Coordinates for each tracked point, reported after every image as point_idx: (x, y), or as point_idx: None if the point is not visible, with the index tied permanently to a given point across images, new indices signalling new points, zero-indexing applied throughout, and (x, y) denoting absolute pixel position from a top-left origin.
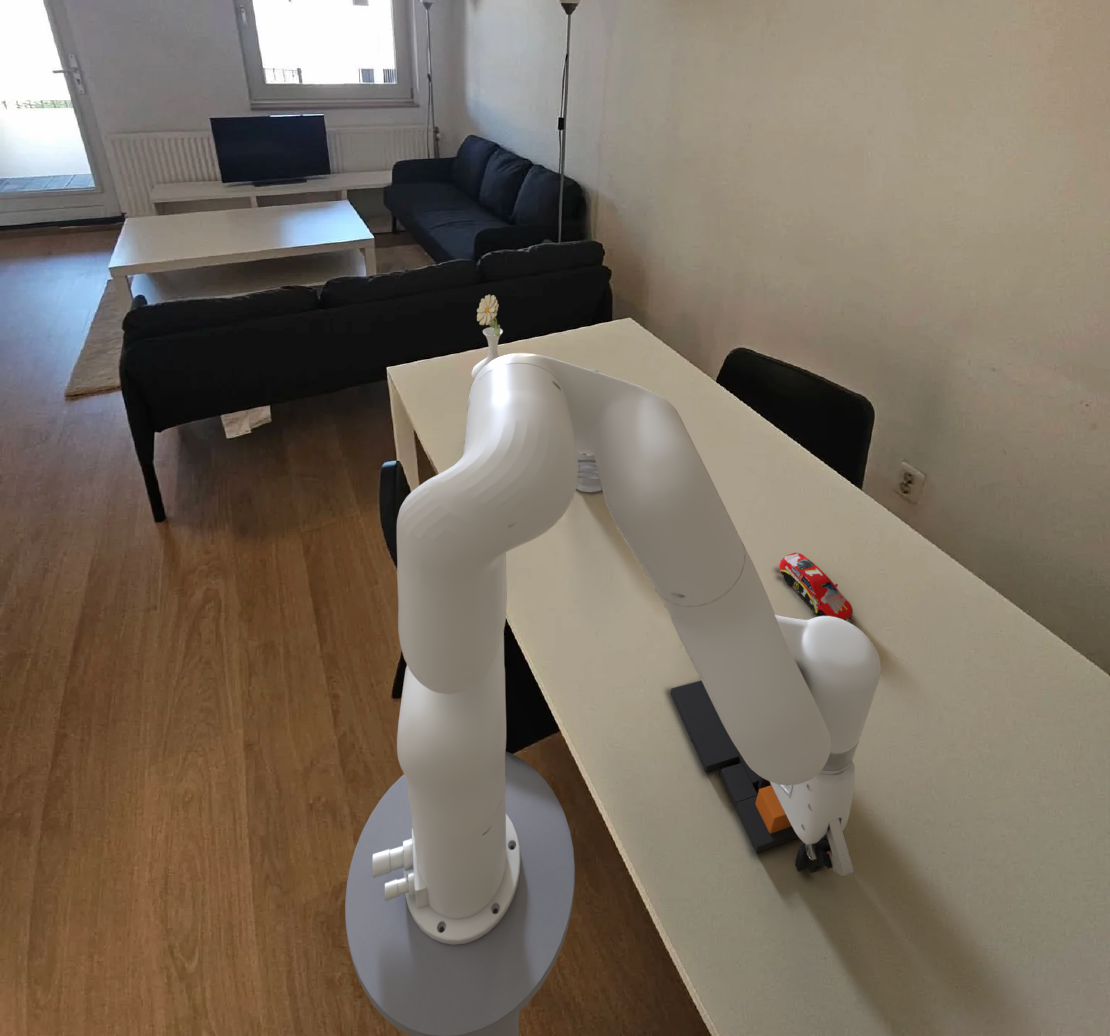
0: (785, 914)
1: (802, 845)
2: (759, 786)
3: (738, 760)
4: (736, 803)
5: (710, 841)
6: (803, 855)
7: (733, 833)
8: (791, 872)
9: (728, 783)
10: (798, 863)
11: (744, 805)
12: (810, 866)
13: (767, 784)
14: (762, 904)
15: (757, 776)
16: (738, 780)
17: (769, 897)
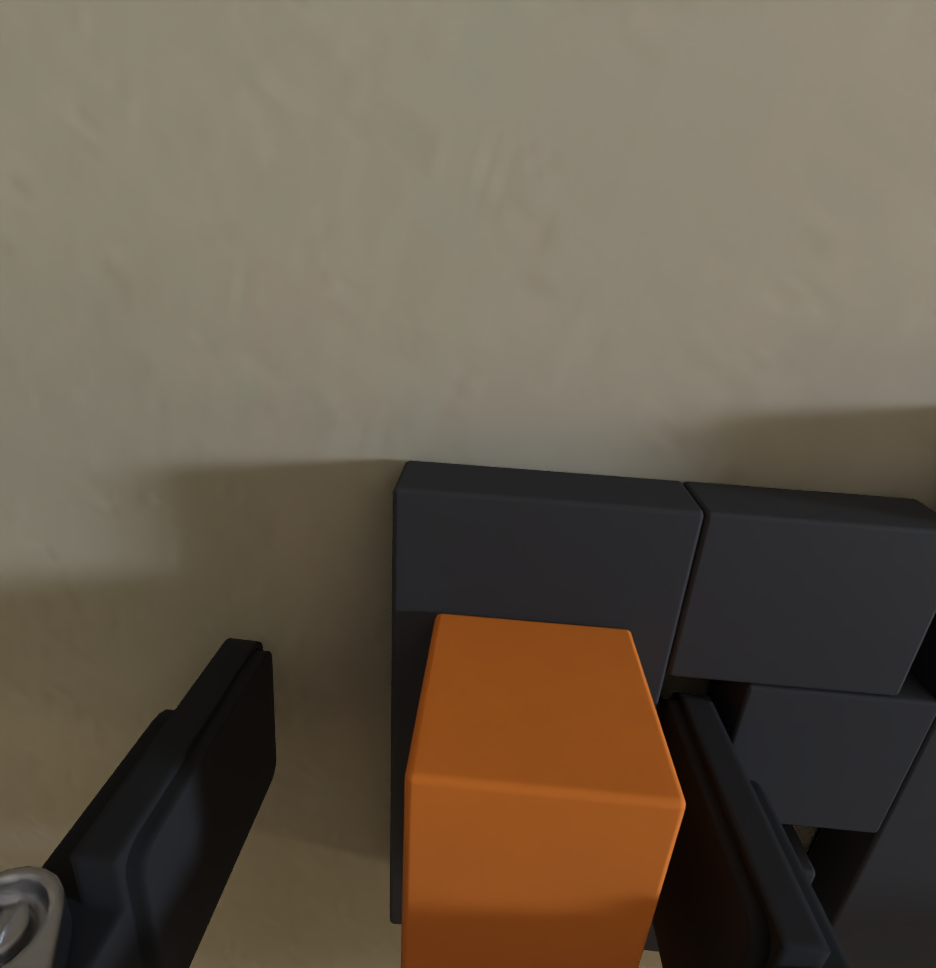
0: (89, 439)
1: (130, 867)
2: (706, 719)
3: (909, 671)
4: (702, 507)
5: (588, 154)
6: (113, 802)
7: (560, 378)
8: (270, 592)
9: (853, 531)
10: (205, 685)
11: (660, 556)
12: (132, 757)
13: (686, 801)
14: (149, 328)
15: (763, 736)
16: (820, 611)
17: (178, 397)
